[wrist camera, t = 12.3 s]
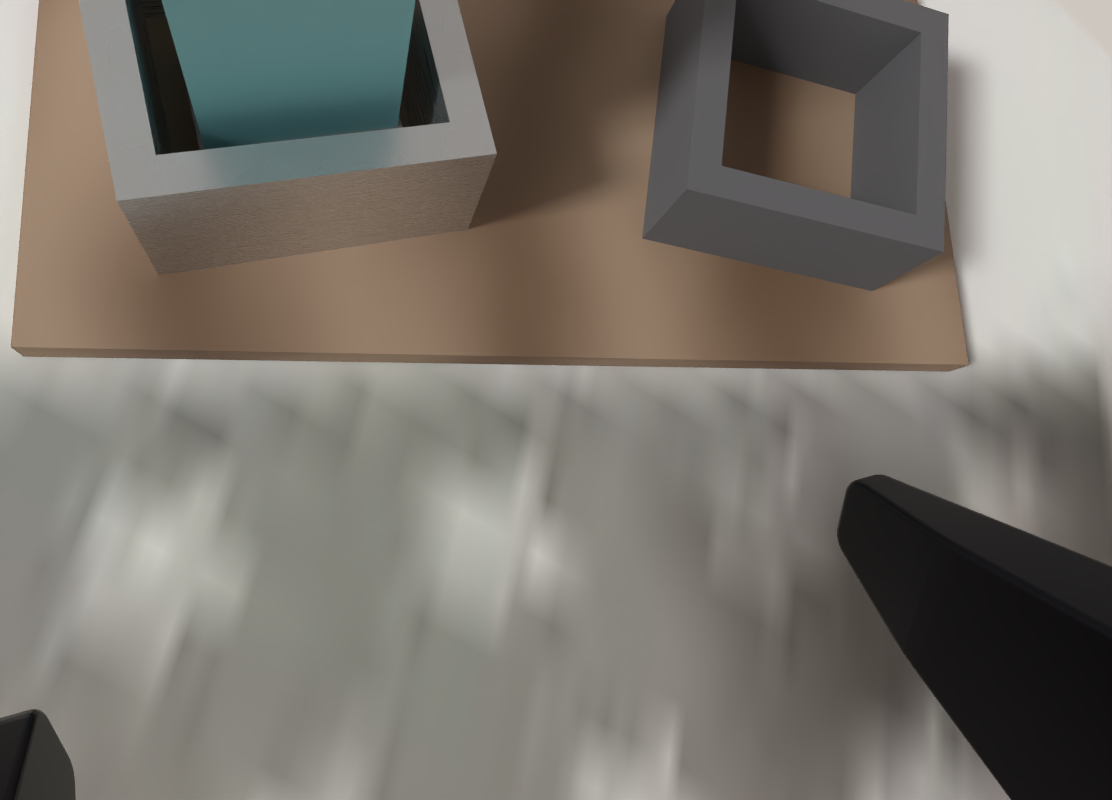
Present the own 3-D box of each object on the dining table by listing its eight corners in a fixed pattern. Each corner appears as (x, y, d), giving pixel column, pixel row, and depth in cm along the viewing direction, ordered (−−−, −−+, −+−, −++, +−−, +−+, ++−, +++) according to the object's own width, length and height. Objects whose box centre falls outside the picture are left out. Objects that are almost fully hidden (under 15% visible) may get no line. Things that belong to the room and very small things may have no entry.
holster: (871, 291, 24) (943, 251, 21) (642, 238, 23) (686, 189, 20) (880, 77, 26) (948, 14, 23) (666, 15, 24) (710, -60, 21)
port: (467, 229, 22) (496, 153, 18) (158, 275, 19) (116, 200, 16) (403, -28, 23) (417, -152, 19) (102, -10, 20) (50, -145, 17)
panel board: (898, 4, 28) (914, -13, 27) (949, 371, 25) (968, 364, 24) (60, -112, 22) (50, -137, 21) (23, 356, 19) (10, 346, 18)
